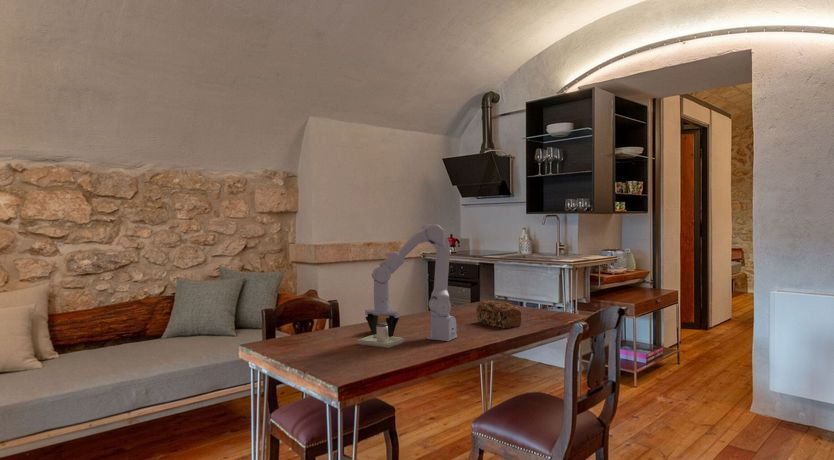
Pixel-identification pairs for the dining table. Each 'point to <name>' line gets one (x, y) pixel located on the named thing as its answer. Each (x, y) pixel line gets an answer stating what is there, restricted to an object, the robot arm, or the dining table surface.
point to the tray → (373, 342)
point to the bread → (498, 314)
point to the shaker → (382, 332)
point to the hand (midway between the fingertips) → (382, 335)
